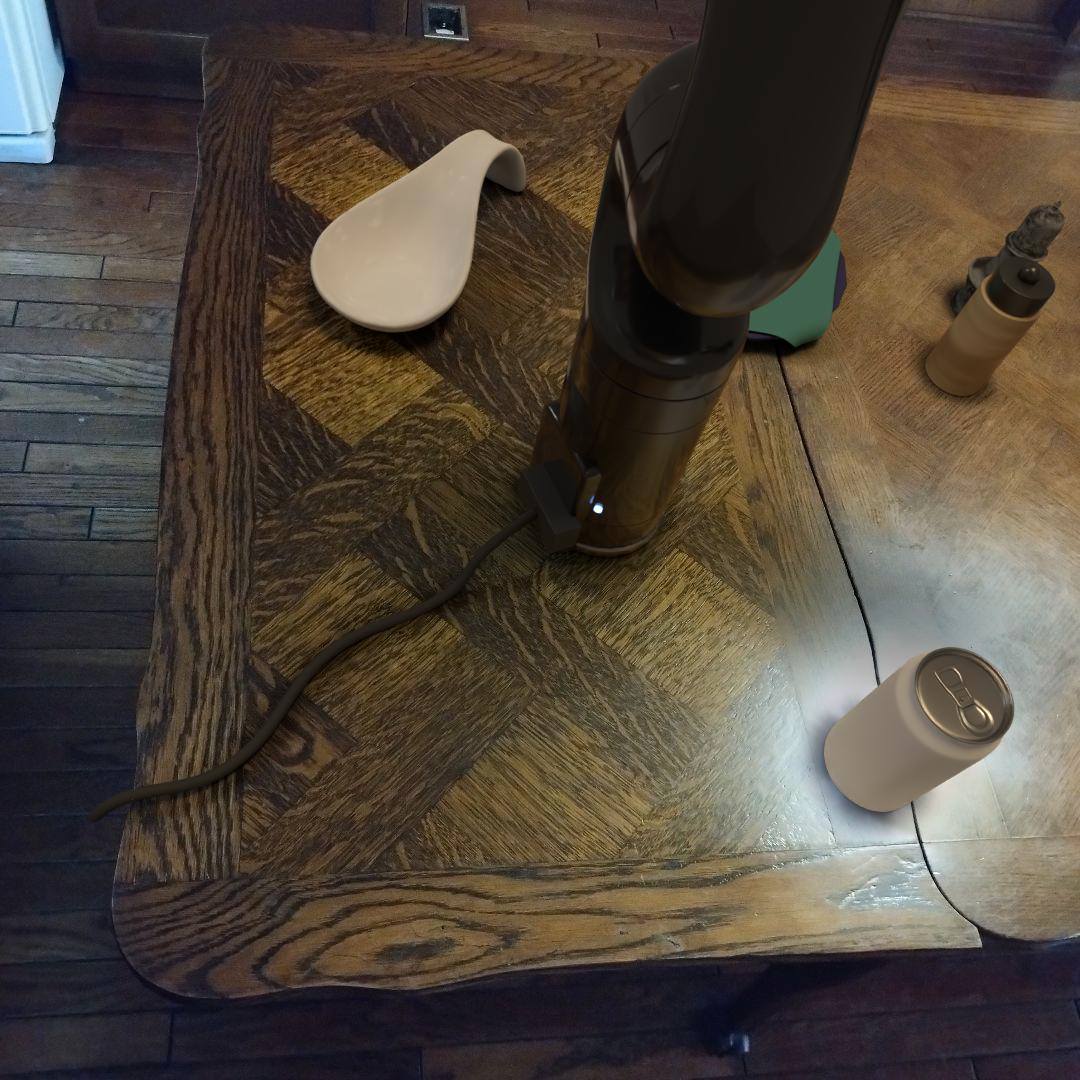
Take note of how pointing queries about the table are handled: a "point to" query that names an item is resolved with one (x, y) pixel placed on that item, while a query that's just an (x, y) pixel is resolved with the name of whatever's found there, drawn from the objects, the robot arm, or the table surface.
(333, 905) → the table surface
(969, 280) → the ornate chess piece
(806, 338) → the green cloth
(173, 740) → the table surface
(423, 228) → the spoon rest
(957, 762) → the can
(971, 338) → the pepper mill
